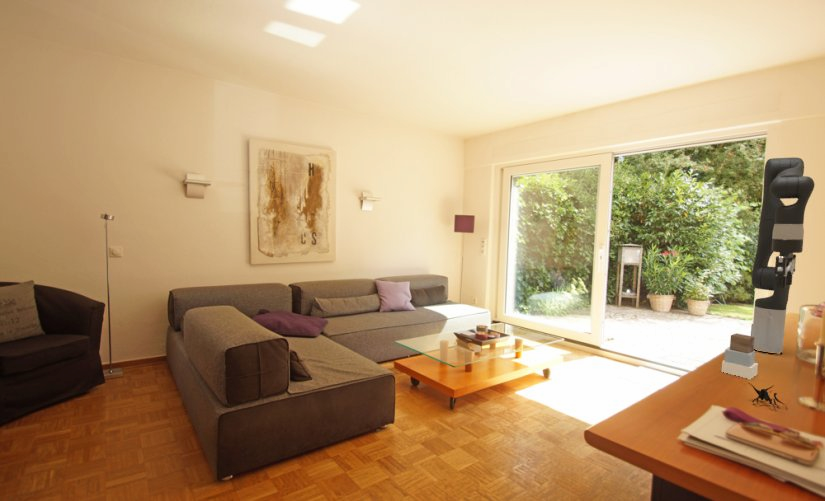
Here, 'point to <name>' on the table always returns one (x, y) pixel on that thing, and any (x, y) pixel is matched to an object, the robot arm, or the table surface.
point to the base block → (740, 370)
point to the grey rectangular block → (739, 357)
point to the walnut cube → (742, 343)
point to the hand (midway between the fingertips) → (783, 286)
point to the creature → (765, 396)
